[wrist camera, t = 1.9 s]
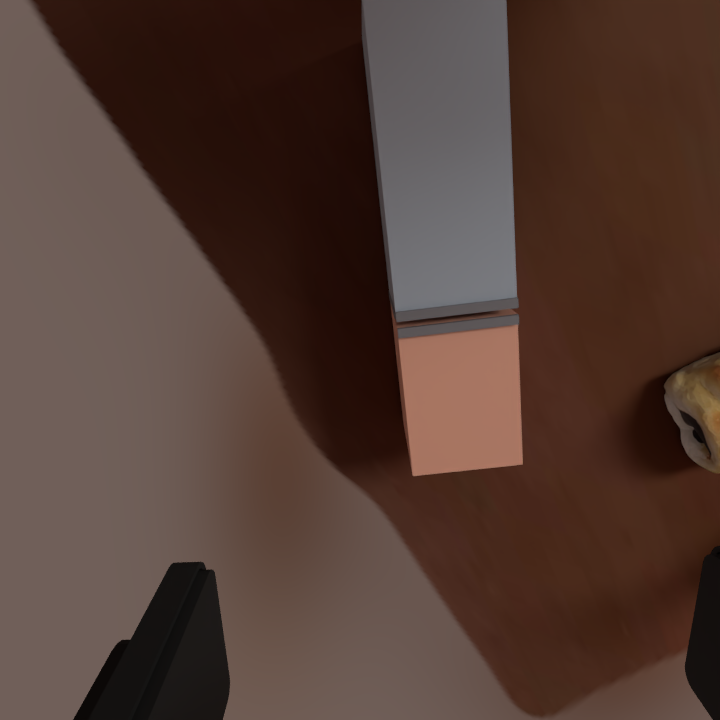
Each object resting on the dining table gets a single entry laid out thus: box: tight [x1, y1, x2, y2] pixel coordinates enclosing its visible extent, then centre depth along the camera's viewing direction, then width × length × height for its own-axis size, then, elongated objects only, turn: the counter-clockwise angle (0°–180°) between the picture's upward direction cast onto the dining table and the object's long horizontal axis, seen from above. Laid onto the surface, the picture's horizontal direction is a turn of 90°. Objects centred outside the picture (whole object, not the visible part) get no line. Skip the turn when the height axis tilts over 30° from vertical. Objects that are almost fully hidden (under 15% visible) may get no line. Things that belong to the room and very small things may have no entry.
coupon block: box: [362, 0, 519, 322], centre depth 23 cm, size 12×5×6 cm, turn 7°
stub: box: [391, 307, 523, 476], centre depth 25 cm, size 7×5×6 cm
